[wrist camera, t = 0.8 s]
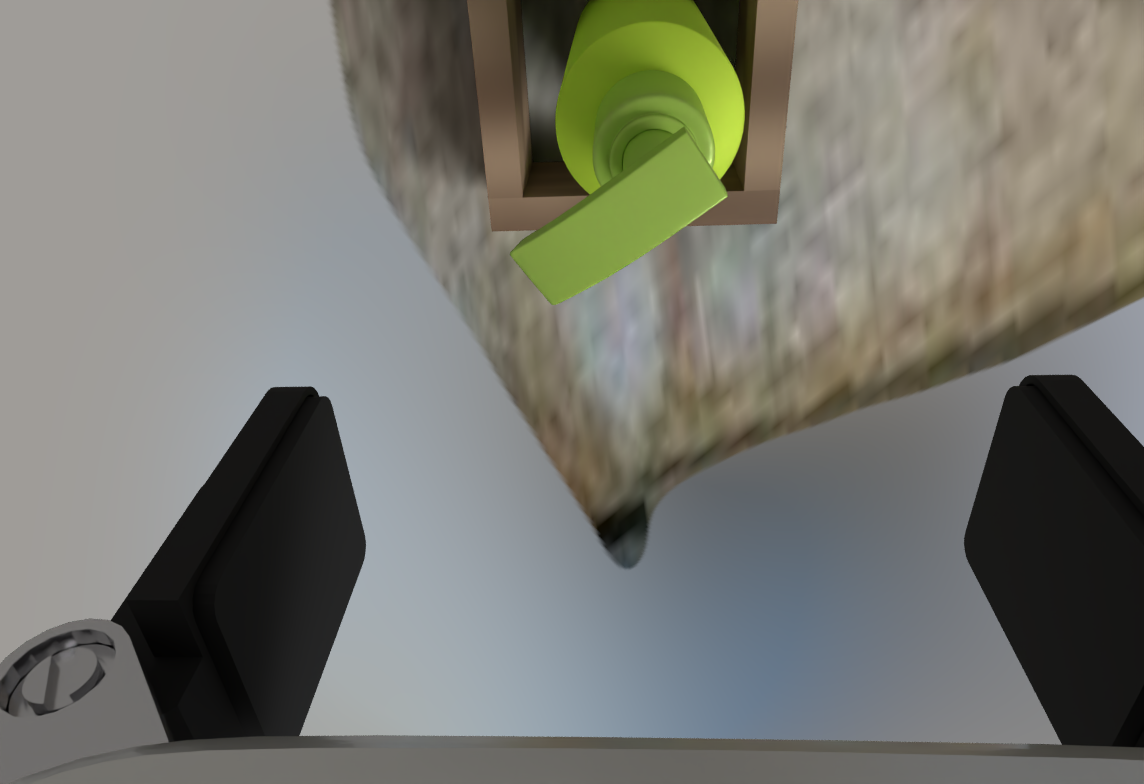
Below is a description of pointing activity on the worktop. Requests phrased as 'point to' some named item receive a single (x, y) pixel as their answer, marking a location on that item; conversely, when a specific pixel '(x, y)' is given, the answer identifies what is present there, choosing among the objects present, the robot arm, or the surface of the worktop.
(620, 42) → the soap dispenser
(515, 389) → the worktop surface
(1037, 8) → the worktop surface
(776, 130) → the walnut stand
